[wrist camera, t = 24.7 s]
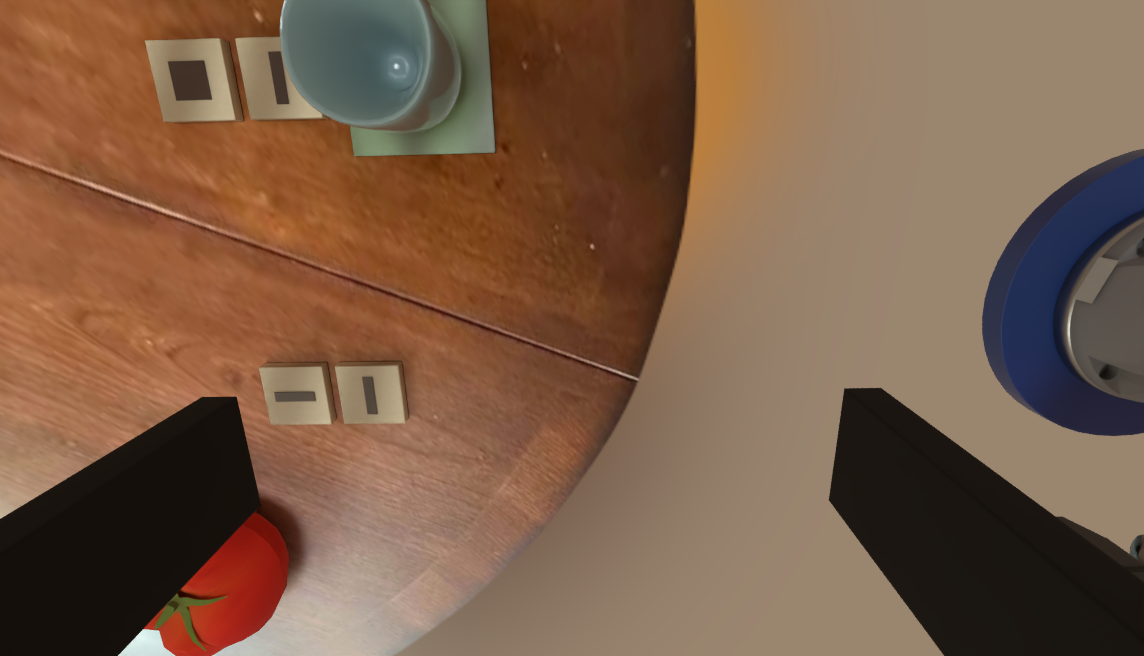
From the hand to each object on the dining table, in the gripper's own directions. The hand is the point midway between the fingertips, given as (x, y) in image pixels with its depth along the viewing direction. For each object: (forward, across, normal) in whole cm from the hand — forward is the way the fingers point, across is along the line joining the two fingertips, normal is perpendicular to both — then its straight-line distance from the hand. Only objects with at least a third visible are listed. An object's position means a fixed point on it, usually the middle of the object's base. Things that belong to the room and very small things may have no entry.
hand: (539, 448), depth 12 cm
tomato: (+29, -30, -25) cm, 49 cm away
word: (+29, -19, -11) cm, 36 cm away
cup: (+29, -10, +12) cm, 33 cm away
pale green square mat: (+29, -16, +12) cm, 35 cm away
